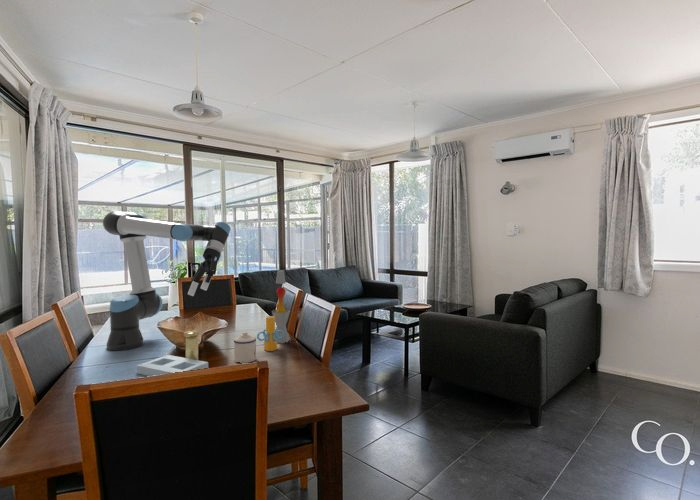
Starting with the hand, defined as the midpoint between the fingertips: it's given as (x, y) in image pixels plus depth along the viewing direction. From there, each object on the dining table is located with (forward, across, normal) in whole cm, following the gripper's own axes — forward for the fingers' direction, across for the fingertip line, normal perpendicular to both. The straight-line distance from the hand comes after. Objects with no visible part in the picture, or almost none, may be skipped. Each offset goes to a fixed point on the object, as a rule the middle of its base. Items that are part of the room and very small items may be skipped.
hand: (196, 292), depth 169 cm
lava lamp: (+7, -3, -47) cm, 47 cm away
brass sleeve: (+28, -2, -8) cm, 30 cm away
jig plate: (+35, -8, 0) cm, 36 cm away
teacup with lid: (+24, -15, -24) cm, 37 cm away
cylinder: (+15, -11, -38) cm, 42 cm away
